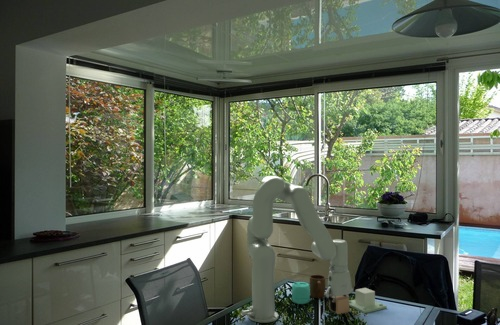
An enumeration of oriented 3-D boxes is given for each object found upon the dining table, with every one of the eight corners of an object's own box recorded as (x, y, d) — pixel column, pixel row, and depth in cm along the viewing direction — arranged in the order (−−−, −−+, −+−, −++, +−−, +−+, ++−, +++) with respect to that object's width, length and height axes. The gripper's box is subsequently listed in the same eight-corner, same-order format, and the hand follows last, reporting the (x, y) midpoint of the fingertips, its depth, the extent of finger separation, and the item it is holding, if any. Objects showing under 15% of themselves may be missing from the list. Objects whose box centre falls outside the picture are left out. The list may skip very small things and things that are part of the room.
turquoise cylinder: (309, 304, 184) (309, 287, 184) (292, 304, 185) (292, 286, 185) (309, 298, 192) (309, 281, 192) (292, 298, 193) (292, 281, 193)
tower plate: (364, 313, 172) (364, 297, 172) (344, 303, 184) (344, 288, 184) (386, 308, 178) (386, 292, 178) (365, 299, 190) (365, 284, 190)
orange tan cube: (338, 314, 172) (338, 300, 172) (329, 309, 177) (329, 296, 177) (349, 311, 174) (349, 298, 174) (340, 307, 180) (340, 294, 180)
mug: (328, 302, 187) (328, 282, 186) (311, 302, 187) (311, 282, 187) (324, 293, 199) (324, 274, 198) (308, 293, 199) (308, 274, 199)
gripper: (328, 272, 168) (328, 315, 168) (359, 267, 176) (360, 308, 176) (317, 268, 175) (318, 309, 175) (348, 263, 183) (348, 303, 183)
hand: (339, 308), depth 176 cm, fingers closed on orange tan cube, 6 cm apart
